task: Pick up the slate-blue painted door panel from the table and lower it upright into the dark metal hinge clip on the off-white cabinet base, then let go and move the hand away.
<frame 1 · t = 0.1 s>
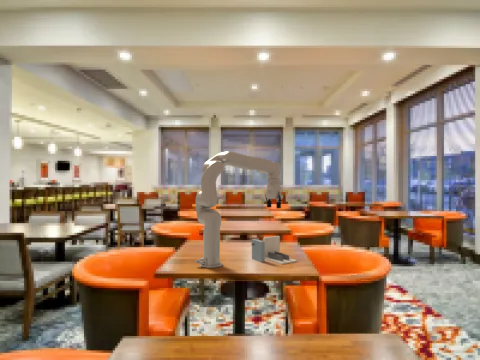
hand: (273, 207, 203), 31 cm above the table, tool pointing down, fingers open, 9 cm apart
door panel: (258, 260, 190), on the table
cabinet base: (279, 259, 191), on the table
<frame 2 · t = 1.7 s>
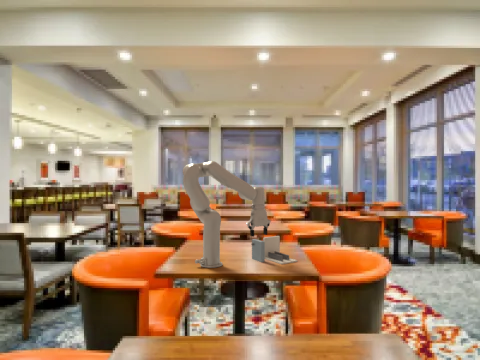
hand: (259, 235, 191), 15 cm above the table, tool pointing down, fingers open, 9 cm apart
nothing on the table moved.
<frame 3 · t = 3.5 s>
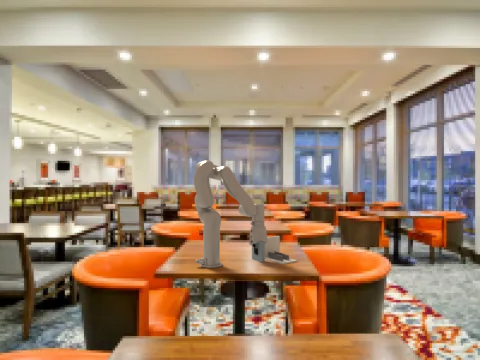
hand: (258, 253, 190), 4 cm above the table, tool pointing down, fingers closed on door panel, 2 cm apart
door panel: (258, 260, 190), on the table, touching gripper
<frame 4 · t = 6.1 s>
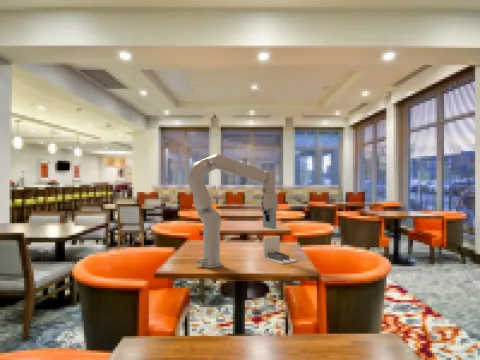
hand: (269, 220, 191), 24 cm above the table, tool pointing down, fingers closed on door panel
door panel: (269, 227, 191), point 20 cm above the table, touching gripper
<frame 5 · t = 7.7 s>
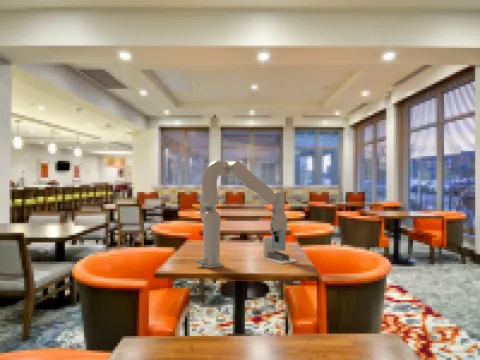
hand: (278, 241, 191), 11 cm above the table, tool pointing down, fingers closed on door panel
door panel: (278, 249, 191), point 7 cm above the table, touching gripper
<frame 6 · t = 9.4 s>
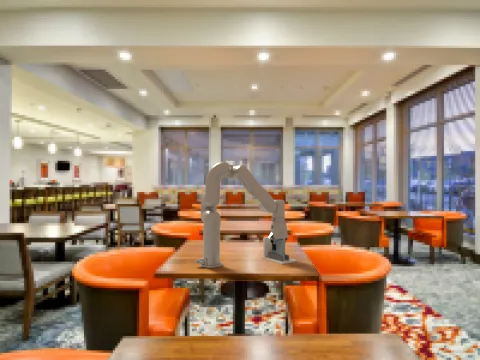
hand: (278, 249, 191), 7 cm above the table, tool pointing down, fingers open, 6 cm apart
door panel: (278, 258, 191), point 1 cm above the table, touching cabinet base
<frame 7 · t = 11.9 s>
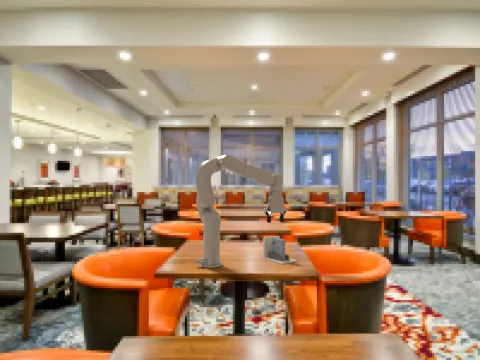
hand: (275, 222, 192), 23 cm above the table, tool pointing down, fingers open, 9 cm apart
nothing on the table moved.
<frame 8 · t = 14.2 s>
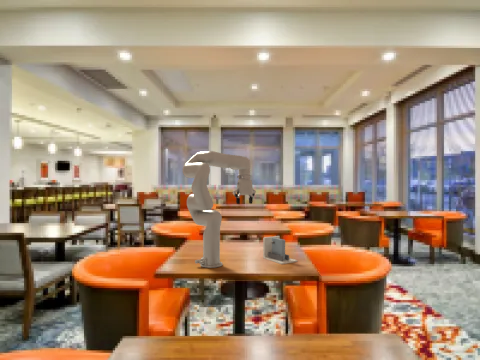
hand: (244, 203, 205), 33 cm above the table, tool pointing down, fingers open, 9 cm apart
nothing on the table moved.
at the end: door panel 0.1 cm from the target spot on the cabinet base, point 0.8 cm above the cabinet base's base; door panel tilted 0°; the gripper is holding nothing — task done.
